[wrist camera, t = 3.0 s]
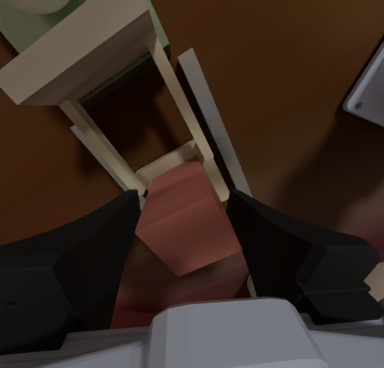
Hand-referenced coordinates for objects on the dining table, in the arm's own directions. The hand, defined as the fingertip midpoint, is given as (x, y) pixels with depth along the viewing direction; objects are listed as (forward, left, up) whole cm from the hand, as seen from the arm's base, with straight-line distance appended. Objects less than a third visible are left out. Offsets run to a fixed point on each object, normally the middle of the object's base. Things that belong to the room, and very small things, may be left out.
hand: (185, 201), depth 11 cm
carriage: (+2, -3, -3) cm, 4 cm away
